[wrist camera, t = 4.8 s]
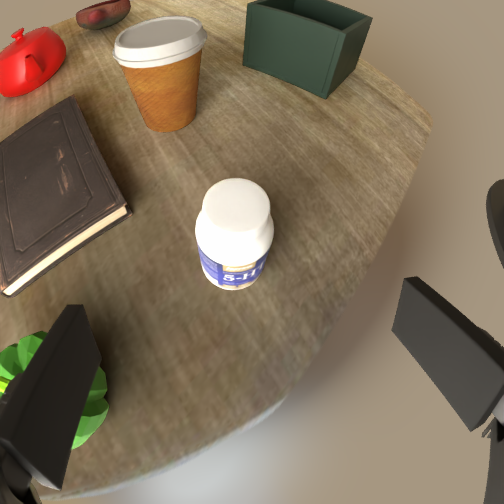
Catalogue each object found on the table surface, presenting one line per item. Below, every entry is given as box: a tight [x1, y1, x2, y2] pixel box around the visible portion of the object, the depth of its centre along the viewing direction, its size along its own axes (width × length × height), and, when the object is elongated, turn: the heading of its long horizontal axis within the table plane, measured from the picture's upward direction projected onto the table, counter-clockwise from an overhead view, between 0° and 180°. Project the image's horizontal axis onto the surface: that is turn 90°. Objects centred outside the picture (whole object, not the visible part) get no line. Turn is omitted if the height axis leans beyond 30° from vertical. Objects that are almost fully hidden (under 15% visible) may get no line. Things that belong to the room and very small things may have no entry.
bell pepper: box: [0, 331, 109, 450], centre depth 15 cm, size 8×8×10 cm
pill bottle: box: [195, 178, 274, 290], centre depth 21 cm, size 5×5×9 cm
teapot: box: [0, 27, 66, 97], centre depth 31 cm, size 25×16×12 cm, turn 43°
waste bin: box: [243, 0, 373, 99], centre depth 34 cm, size 14×14×11 cm
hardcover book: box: [0, 94, 133, 298], centre depth 26 cm, size 16×23×2 cm
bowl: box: [76, 0, 131, 30], centre depth 41 cm, size 16×13×8 cm
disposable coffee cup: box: [113, 16, 207, 132], centre depth 26 cm, size 10×10×12 cm
